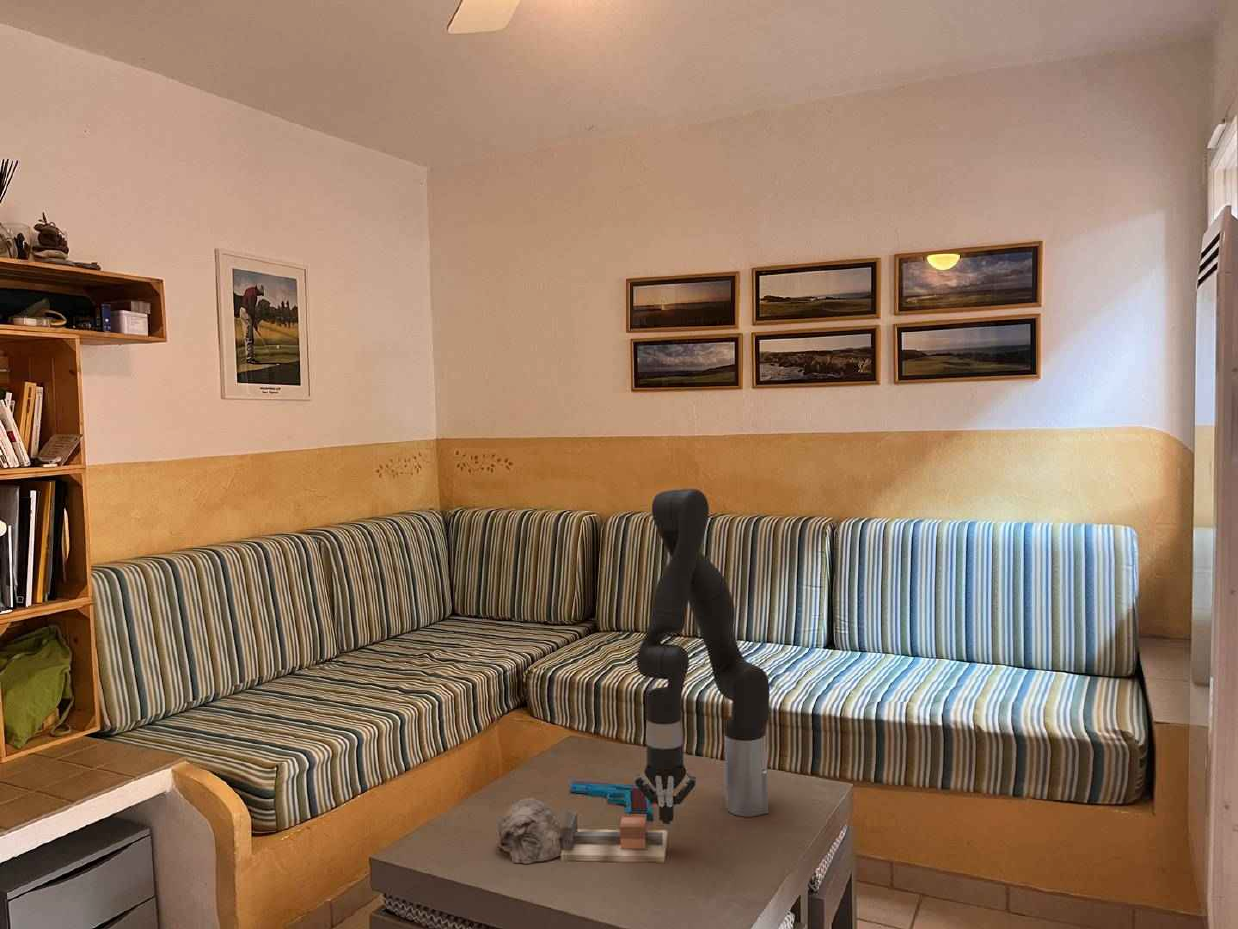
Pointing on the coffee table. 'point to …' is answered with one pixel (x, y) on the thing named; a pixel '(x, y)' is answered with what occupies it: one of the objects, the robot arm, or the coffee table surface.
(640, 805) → the handgun
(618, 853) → the rail board
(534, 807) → the rock
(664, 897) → the coffee table surface
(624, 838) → the slider block
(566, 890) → the coffee table surface
